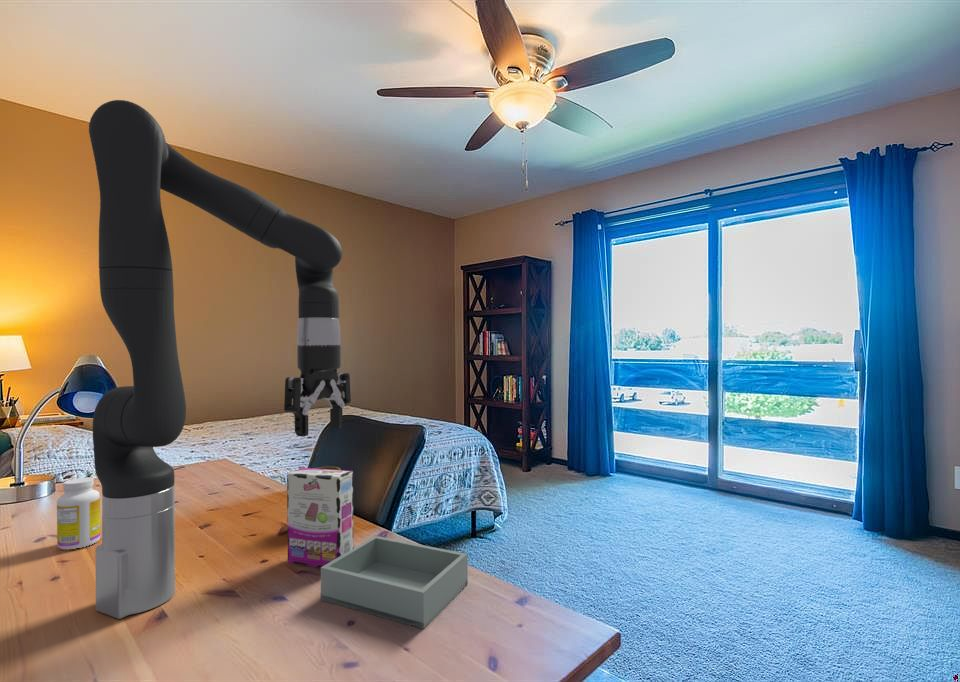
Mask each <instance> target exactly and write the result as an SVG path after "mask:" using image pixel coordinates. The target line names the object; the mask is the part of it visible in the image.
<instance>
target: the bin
mask: <svg viewBox="0 0 960 682" xmlns="http://www.w3.org/2000/svg"><path fill="white" fill-rule="evenodd" d="M468 575H469V573H468V553H465V552H461V551H455V550H454V551H453V550H451V549H450V550H449V549H445V548H444V549H443V548H440V547H434V546H429V545H424V544H419V543H415V542H414V543H413V542H409V541H404V540H398V539H394V538H393V539H392V538H388V537H384V536H378V535H374V536H373V537H371V538H369V539H367V540H364V542H362V543H361V544H358V545H357V546H355V547H354V548H353V549H352V550H350V551H348V552H347V553H345V554H343V555H341V556H340V557H338V558H336V559H335V560H333V561H331V562H329V563H328V564H326V565H324V566H323V567H321V568H320V600H321V601H322V602H327V603H330V604H334V605H338V606H341V607H345V608H349V609H352V610H356V611H359V612H362V613H366V614H370V615H372V616H377V617H379V618H383V619H384V618H385V619H386V620H391V621H394V622H398V623H401V624H404V623H405V625H408V624H409V625H408V626H411V625H413V626H412V627H415V626H416V628H419V629H423V630H424V629H425V628H426V627H427V626H428V625H429V624H430V623H431V622H433V620H435V618H436V617H437V616H438V615H439V614H440V613H441V612H442V611H443V610H444V609H446V607H447V606H449V604H450V603H451V602H452V601H453V600H454V599H455V598H456V597H457V596H458V595H459V594H460V593H461V592H462V591H463V590H464V589H465V588H466V587H467V586H468V585H467V584H468V582H469V581H468V579H469V578H468ZM466 585H467V586H466ZM465 586H466V587H465ZM464 587H465V588H464ZM463 588H464V589H463ZM462 589H463V590H462ZM461 590H462V591H461ZM460 591H461V592H460ZM459 592H460V593H459Z"/></svg>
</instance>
